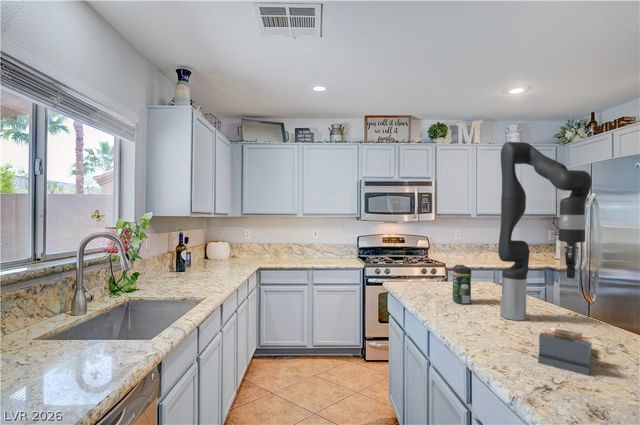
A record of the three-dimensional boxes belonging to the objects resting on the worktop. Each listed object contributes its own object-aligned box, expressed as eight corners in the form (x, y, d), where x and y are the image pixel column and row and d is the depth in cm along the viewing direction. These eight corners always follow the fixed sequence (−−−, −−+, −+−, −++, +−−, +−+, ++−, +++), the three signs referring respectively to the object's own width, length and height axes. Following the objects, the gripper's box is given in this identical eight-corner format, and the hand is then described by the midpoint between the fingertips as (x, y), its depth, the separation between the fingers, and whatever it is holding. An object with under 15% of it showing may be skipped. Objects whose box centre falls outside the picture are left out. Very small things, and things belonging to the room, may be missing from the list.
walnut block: (553, 354, 105) (554, 331, 105) (555, 350, 108) (555, 328, 108) (573, 359, 102) (574, 335, 102) (574, 355, 105) (575, 332, 105)
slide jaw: (544, 347, 110) (544, 327, 110) (545, 344, 112) (545, 324, 112) (587, 357, 103) (588, 335, 103) (588, 354, 105) (588, 333, 105)
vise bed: (538, 362, 104) (538, 336, 104) (548, 340, 122) (548, 317, 122) (588, 375, 96) (588, 347, 96) (591, 349, 114) (591, 325, 114)
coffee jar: (450, 299, 177) (451, 263, 177) (466, 300, 176) (467, 263, 176) (455, 304, 167) (456, 266, 167) (472, 305, 166) (473, 267, 166)
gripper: (584, 229, 111) (583, 282, 111) (586, 227, 121) (585, 276, 122) (556, 228, 116) (555, 279, 116) (560, 226, 126) (559, 273, 126)
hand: (570, 277), depth 119 cm, fingers closed
